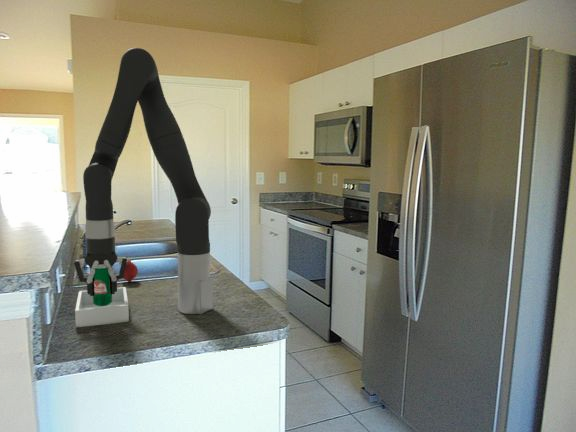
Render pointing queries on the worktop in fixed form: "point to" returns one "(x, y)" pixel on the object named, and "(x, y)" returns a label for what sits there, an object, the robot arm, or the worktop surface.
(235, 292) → the worktop surface
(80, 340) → the worktop surface
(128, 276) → the onion
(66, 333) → the worktop surface
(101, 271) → the soda can
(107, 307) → the tote
